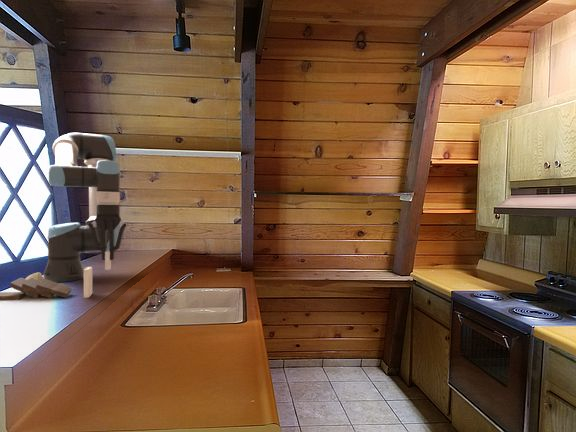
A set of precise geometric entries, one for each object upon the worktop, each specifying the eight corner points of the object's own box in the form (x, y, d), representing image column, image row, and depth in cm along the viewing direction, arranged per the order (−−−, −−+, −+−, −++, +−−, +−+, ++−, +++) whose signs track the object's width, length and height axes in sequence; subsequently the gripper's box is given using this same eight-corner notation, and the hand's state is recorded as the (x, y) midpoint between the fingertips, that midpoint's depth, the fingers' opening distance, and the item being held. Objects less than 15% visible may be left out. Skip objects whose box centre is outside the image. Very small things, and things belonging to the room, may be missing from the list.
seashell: (44, 281, 148) (52, 273, 144) (38, 302, 143) (46, 295, 139) (20, 275, 143) (28, 267, 139) (13, 297, 138) (20, 289, 134)
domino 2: (36, 298, 133) (9, 286, 132) (46, 292, 138) (19, 281, 137) (38, 294, 133) (10, 282, 132) (47, 288, 137) (21, 277, 137)
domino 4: (65, 297, 135) (35, 288, 132) (71, 291, 139) (42, 282, 137) (67, 293, 134) (36, 284, 132) (72, 287, 139) (43, 278, 137)
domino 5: (83, 297, 136) (83, 269, 135) (87, 293, 140) (87, 266, 140) (88, 297, 136) (88, 269, 135) (92, 293, 141) (92, 266, 140)
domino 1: (19, 300, 131) (-15, 301, 129) (25, 296, 136) (-7, 297, 134) (19, 295, 131) (-15, 296, 129) (25, 291, 136) (-7, 292, 134)
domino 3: (50, 298, 133) (21, 287, 132) (58, 292, 138) (30, 281, 137) (51, 294, 133) (22, 283, 132) (59, 288, 138) (31, 277, 137)
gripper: (85, 203, 133) (85, 271, 134) (125, 204, 136) (125, 270, 137) (91, 203, 140) (91, 267, 141) (129, 204, 143) (129, 266, 145)
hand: (108, 268), depth 139 cm, fingers closed
